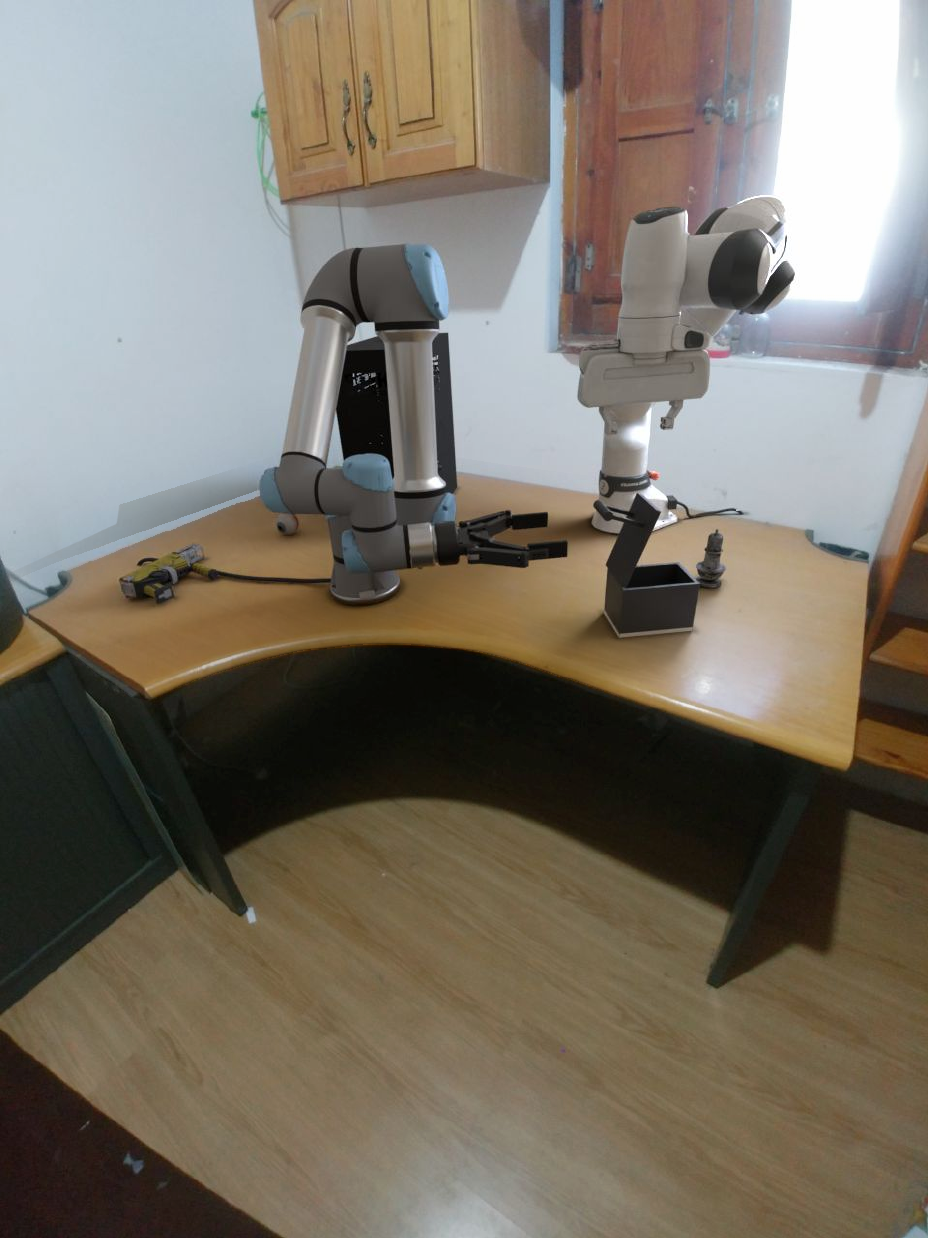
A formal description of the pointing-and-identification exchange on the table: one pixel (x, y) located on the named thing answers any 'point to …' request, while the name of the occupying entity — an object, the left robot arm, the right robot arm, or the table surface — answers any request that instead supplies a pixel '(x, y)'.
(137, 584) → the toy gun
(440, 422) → the black computer tower
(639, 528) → the lid
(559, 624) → the table surface
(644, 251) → the right robot arm
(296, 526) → the eyeball
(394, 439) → the left robot arm
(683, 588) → the chest
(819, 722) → the table surface
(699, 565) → the salt shaker
